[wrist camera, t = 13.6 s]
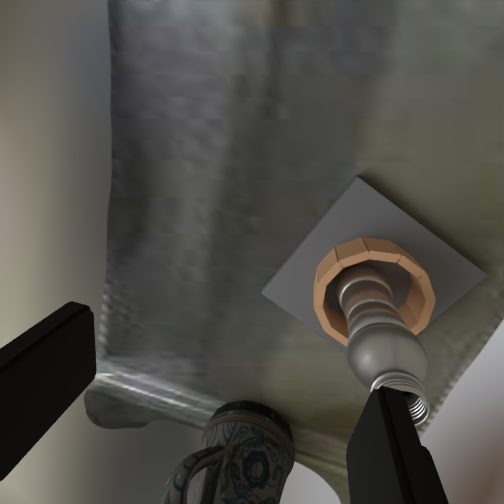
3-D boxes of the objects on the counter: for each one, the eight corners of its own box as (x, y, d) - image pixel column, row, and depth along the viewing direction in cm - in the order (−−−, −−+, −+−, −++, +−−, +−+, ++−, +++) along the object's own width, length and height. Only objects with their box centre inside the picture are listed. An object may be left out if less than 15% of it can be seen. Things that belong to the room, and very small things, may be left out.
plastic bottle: (360, 250, 38) (404, 354, 20) (398, 284, 39) (476, 415, 20) (324, 283, 41) (334, 402, 22) (360, 314, 41) (399, 456, 23)
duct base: (355, 175, 37) (364, 182, 31) (481, 270, 38) (513, 295, 32) (262, 288, 44) (254, 311, 38) (369, 364, 45) (377, 398, 39)
